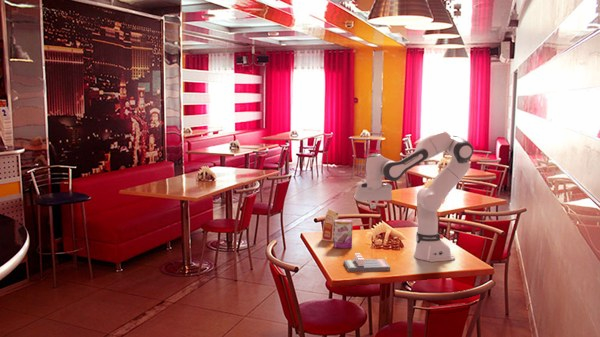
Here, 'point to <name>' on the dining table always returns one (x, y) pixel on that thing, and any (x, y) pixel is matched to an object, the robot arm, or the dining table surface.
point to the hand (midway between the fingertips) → (373, 208)
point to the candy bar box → (343, 234)
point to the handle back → (356, 255)
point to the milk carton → (329, 225)
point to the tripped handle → (360, 261)
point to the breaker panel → (367, 265)
